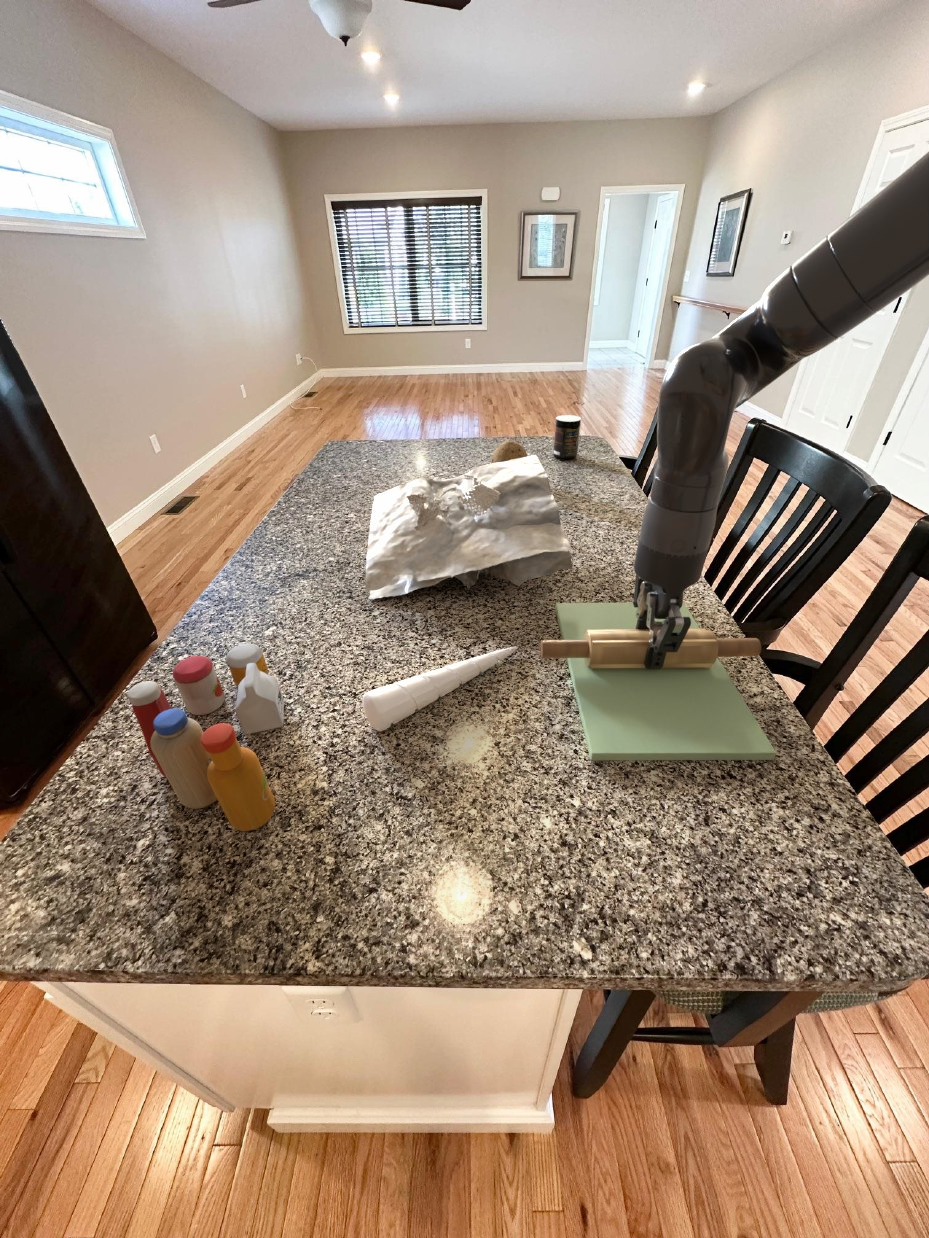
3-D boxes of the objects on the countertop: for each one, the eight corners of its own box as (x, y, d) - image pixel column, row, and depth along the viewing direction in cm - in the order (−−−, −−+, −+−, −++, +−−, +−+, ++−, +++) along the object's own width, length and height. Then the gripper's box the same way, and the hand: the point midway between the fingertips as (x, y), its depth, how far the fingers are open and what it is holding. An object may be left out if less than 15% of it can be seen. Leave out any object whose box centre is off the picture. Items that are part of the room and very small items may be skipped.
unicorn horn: (535, 663, 70) (537, 635, 68) (380, 741, 60) (375, 711, 57) (513, 646, 74) (515, 619, 71) (362, 717, 63) (357, 688, 60)
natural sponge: (483, 483, 127) (483, 443, 122) (501, 473, 133) (502, 433, 128) (515, 490, 123) (517, 448, 117) (532, 479, 129) (535, 438, 123)
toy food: (280, 827, 51) (248, 745, 44) (140, 860, 48) (83, 779, 41) (285, 661, 72) (265, 588, 65) (188, 678, 70) (156, 604, 63)
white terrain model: (349, 566, 79) (364, 475, 103) (380, 639, 90) (387, 541, 113) (574, 519, 76) (537, 437, 100) (579, 600, 87) (544, 508, 111)
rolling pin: (744, 654, 70) (751, 623, 68) (761, 671, 66) (769, 639, 64) (538, 656, 71) (540, 626, 69) (542, 673, 66) (544, 641, 65)
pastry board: (773, 760, 56) (776, 752, 56) (590, 760, 57) (591, 753, 56) (681, 608, 81) (683, 601, 80) (554, 609, 81) (555, 603, 81)
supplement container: (582, 457, 142) (586, 418, 136) (565, 462, 139) (569, 423, 133) (564, 452, 147) (567, 413, 141) (547, 457, 143) (550, 418, 137)
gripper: (734, 568, 52) (694, 691, 62) (686, 511, 64) (659, 623, 74) (659, 569, 52) (632, 692, 62) (625, 512, 64) (606, 623, 74)
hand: (647, 654), depth 68 cm, fingers closed on rolling pin, 4 cm apart
